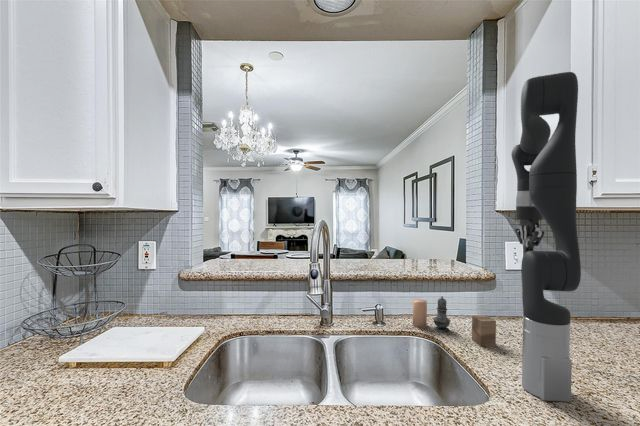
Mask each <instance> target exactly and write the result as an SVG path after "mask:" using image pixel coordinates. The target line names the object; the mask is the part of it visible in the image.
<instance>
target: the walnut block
mask: <svg viewBox="0 0 640 426" xmlns="http://www.w3.org/2000/svg"><path fill="white" fill-rule="evenodd" d="M496 334H497V320H496V319H494V318H493V317H490V316H488V315H484V314H483V315H472V316H471V341H472V342H474V343H476V344H477V345H478V346H479V347H496V341H497V335H496Z"/></svg>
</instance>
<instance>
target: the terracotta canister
mask: <svg viewBox="0 0 640 426" xmlns="http://www.w3.org/2000/svg"><path fill="white" fill-rule="evenodd" d="M427 321H428V302H427V300H426V299H421V298H416V299H414V298H413V299H412V326H413V327H415V328H419V329H420V328H421V329H424V328H427V327H428V325H427V323H428V322H427Z"/></svg>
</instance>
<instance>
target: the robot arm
mask: <svg viewBox="0 0 640 426" xmlns="http://www.w3.org/2000/svg"><path fill="white" fill-rule="evenodd" d="M578 99H579V82H578V76H577V75H576V73H575V72H573V71H565V72H559V73H553V74H547V75H540V76H534V77H531V78H528V79H526V81H525V82H524V83H523V86H522V89H521V95H520V122H521V136H520V142H519V144H516V145H514V147H513V148H512V150H511V159H512V163H513V166H514V168H515V172H516V179H517V180H516V181H517V190H516V191H517V192H516V199H515V219H516V220H517V221H520V222H519V227H518V228H515V229H514V230H515V231H514V232H515V234H516V236H517V237H516V238H518V239H517V240H518V242H519V244H521V245H522V247H523V256H522V259H521V289H522V290H521V291H522V292H521V294H522V295H521V296H522V298H521V299H522V300H521V301H522V311H523V312H522V352H521V353H522V354H521V356H522V357H521V386H522V388H523V389H524V390H526V391H527V392H528V393H529V394H531V395H533V396H536V397H538V398H539V399H541V401H547V402H548V401H549V402H564V403H565V402H566V403H567V402H569V403H570V402H572V376H573V375H572V369H573V368H572V367H573V365H572V364H573V361H572V359H570V357H571V356H570V347H571V346H570V345H571V311H570V310H569V309H568V308H566V307H565V306H563V305H561V304H558V303H555V302H552V301H550V300H548V299H546V298H545V296H544V291H550V292H551V291H553V292H574V291H576V290H577V289H578V287H580V283H581V279H582V266H581V264H582V263H581V254H580V246H579V237H578V226H577V194H578V192H577V191H578V188H577V187H578V184H577V183H578V179H577V178H578V176H577V154H576V153H577V152H576V150H577V149H576V135H577V134H576V132H577V131H576V128H577V114H578ZM556 114H557V115H558V123H557V124H556V125H557V126H556V127H555V130H554V131H553V133H552V134H551V126H550V125H549V123H548V122H547V121H546V120H545V118H543V117H542V116H551V115H556ZM525 166H526V167H527V166H528V167H529V166H530V168H529V170H527V168H525ZM543 220H545V222H546V223H547V225H548V226H549V228H550V230H551V232H552V235H553V238H554V245H555V251H554V250H553V251H552V250H534V249H535V247H539V245H540V243H541V242H542V239H543V238H544V236H545V231H543V230H541V229H540V221H543Z"/></svg>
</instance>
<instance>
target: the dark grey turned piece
mask: <svg viewBox="0 0 640 426" xmlns="http://www.w3.org/2000/svg"><path fill="white" fill-rule="evenodd" d="M436 311H437V314H436V316H434V317H433V318H432V320H433V322H434V325H435V326H434V327H433V330H434V331H436V332H439V333H449V332H450V331H451V330H450V329H449V328H448V327H449V326H450V324H451V321H452V320H451V319H450V318H448V317H447V311H448V308H447V300H446V299H445V298H444V296H442V295H441V296H440V297H439V298H438V299H437V308H436Z"/></svg>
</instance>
